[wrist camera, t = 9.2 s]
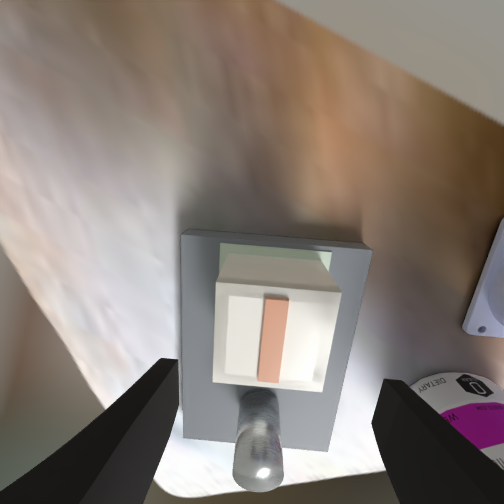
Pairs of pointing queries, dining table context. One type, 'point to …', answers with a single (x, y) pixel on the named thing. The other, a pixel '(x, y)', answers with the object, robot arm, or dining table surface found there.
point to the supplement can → (468, 408)
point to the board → (202, 336)
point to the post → (258, 442)
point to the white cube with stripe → (274, 322)
